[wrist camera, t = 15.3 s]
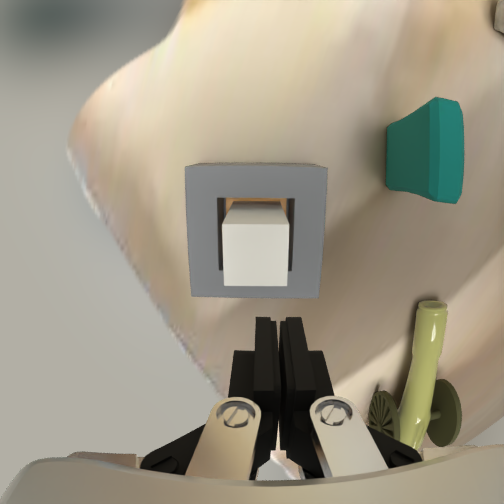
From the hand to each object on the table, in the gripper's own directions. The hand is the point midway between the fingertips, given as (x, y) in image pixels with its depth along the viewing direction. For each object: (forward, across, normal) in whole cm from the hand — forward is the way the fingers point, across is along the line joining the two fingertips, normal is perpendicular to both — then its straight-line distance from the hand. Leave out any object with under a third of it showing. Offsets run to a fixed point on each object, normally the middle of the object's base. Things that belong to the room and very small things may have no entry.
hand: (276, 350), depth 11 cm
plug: (+21, +1, 0) cm, 21 cm away
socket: (+23, +1, 0) cm, 23 cm away
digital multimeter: (+24, -13, -8) cm, 28 cm away
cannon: (+24, -22, +22) cm, 39 cm away
